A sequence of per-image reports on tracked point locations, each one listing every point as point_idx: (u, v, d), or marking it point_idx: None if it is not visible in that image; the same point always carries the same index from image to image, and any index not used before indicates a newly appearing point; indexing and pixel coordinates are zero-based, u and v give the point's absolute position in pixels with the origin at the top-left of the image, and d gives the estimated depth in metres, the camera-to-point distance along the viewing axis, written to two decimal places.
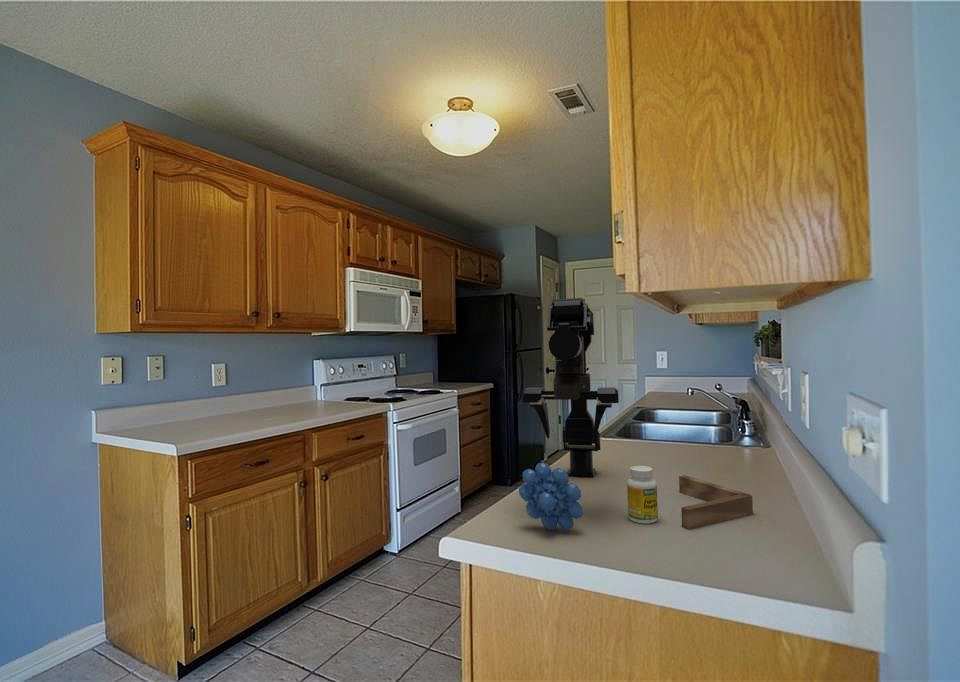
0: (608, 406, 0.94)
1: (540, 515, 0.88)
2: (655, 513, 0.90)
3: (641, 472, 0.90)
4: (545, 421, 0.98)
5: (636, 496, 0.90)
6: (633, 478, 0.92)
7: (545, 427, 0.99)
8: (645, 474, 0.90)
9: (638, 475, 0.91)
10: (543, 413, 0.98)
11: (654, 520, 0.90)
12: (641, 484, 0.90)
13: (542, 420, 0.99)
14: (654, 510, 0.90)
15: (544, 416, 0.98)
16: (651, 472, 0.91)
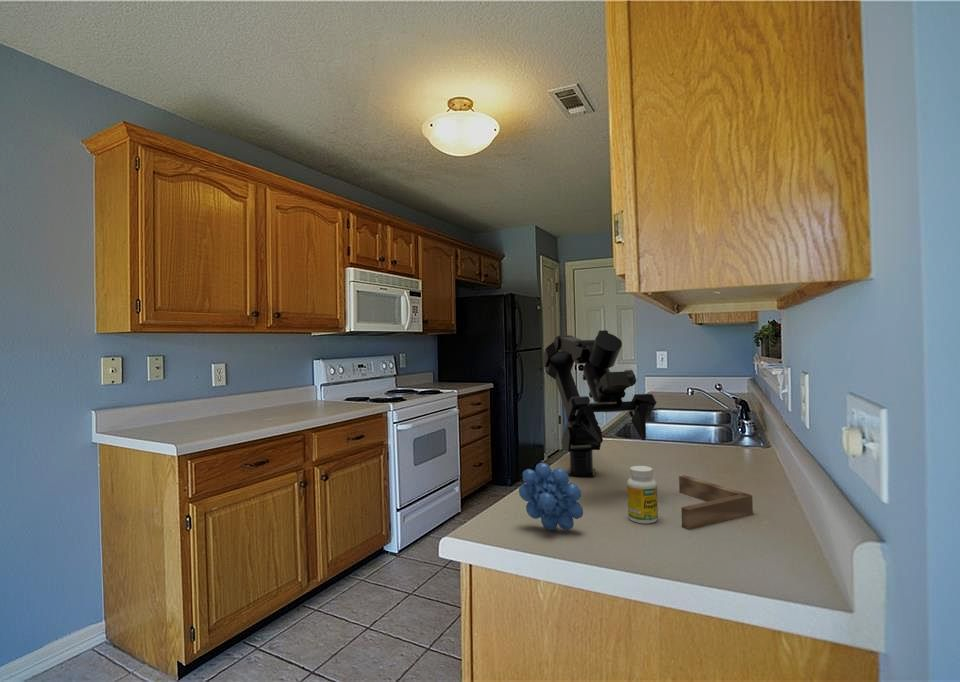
0: (649, 404, 1.04)
1: (540, 515, 0.88)
2: (655, 513, 0.90)
3: (641, 472, 0.90)
4: (596, 424, 1.01)
5: (636, 496, 0.90)
6: (633, 478, 0.92)
7: (597, 429, 1.00)
8: (645, 474, 0.90)
9: (638, 475, 0.91)
10: (593, 417, 1.02)
11: (654, 520, 0.90)
12: (641, 484, 0.90)
13: (593, 423, 1.01)
14: (654, 510, 0.90)
15: (594, 419, 1.01)
16: (651, 472, 0.91)
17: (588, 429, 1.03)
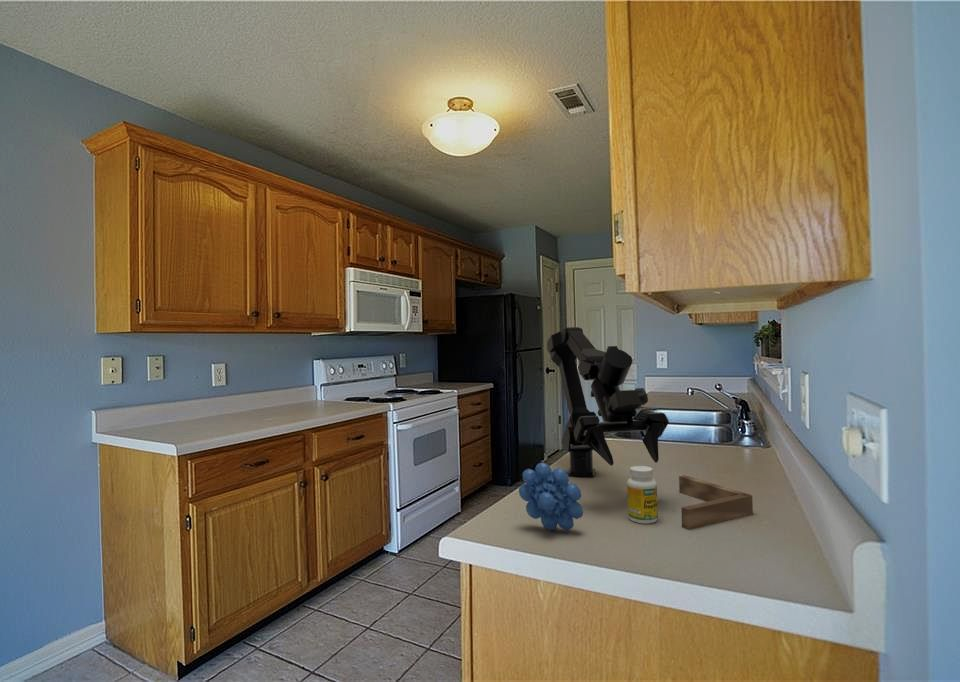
0: (662, 424, 0.99)
1: (540, 515, 0.88)
2: (655, 513, 0.90)
3: (641, 472, 0.90)
4: (606, 445, 0.96)
5: (636, 496, 0.90)
6: (633, 478, 0.92)
7: (607, 451, 0.95)
8: (645, 474, 0.90)
9: (638, 475, 0.91)
10: (603, 438, 0.97)
11: (654, 520, 0.90)
12: (641, 484, 0.90)
13: (603, 445, 0.96)
14: (654, 510, 0.90)
15: (604, 440, 0.96)
16: (651, 472, 0.91)
17: (598, 450, 0.98)
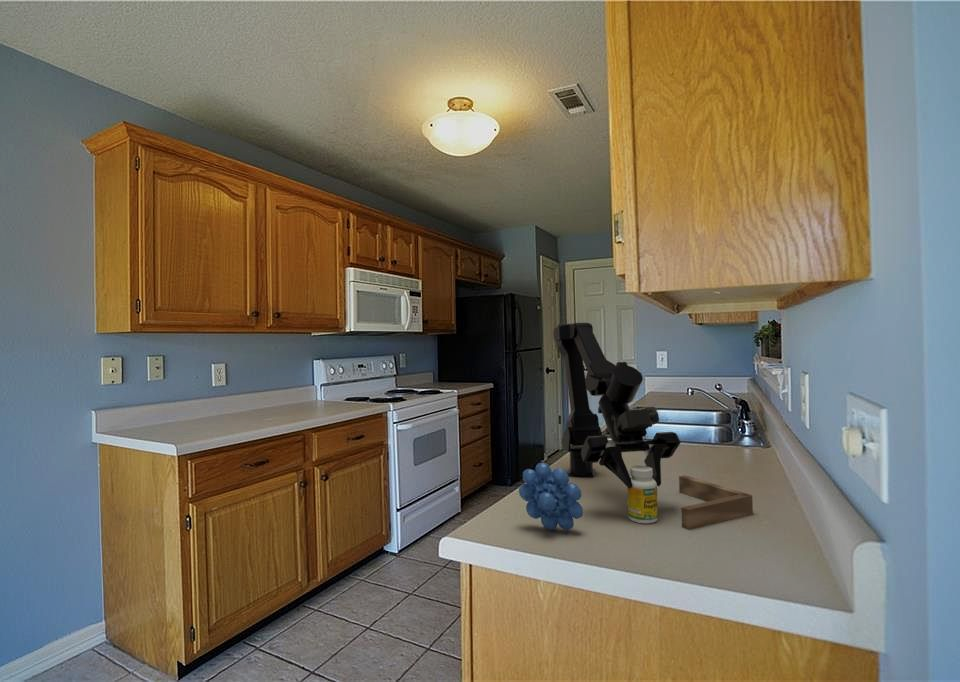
0: (665, 445, 0.94)
1: (540, 515, 0.88)
2: (655, 513, 0.90)
3: (641, 472, 0.90)
4: (624, 467, 0.92)
5: (636, 496, 0.90)
6: (633, 478, 0.92)
7: (626, 473, 0.91)
8: (645, 474, 0.90)
9: (638, 475, 0.91)
10: (621, 459, 0.93)
11: (654, 520, 0.90)
12: (641, 484, 0.90)
13: (621, 466, 0.92)
14: (654, 510, 0.90)
15: (622, 462, 0.93)
16: (651, 472, 0.91)
17: (615, 472, 0.94)
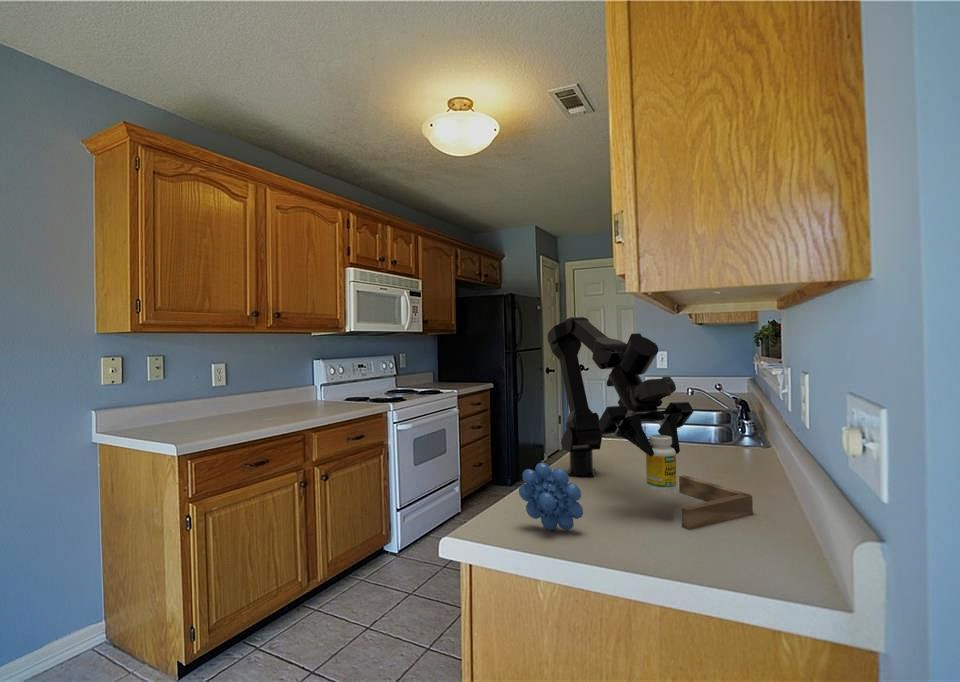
0: (680, 414, 0.96)
1: (540, 515, 0.88)
2: (675, 480, 0.91)
3: (662, 440, 0.91)
4: (645, 436, 0.93)
5: (657, 464, 0.91)
6: (653, 446, 0.93)
7: (647, 442, 0.92)
8: (666, 442, 0.91)
9: (659, 443, 0.91)
10: (640, 428, 0.93)
11: (674, 487, 0.91)
12: (663, 452, 0.91)
13: (642, 435, 0.93)
14: (674, 477, 0.91)
15: (642, 431, 0.93)
16: (671, 440, 0.92)
17: (634, 441, 0.94)
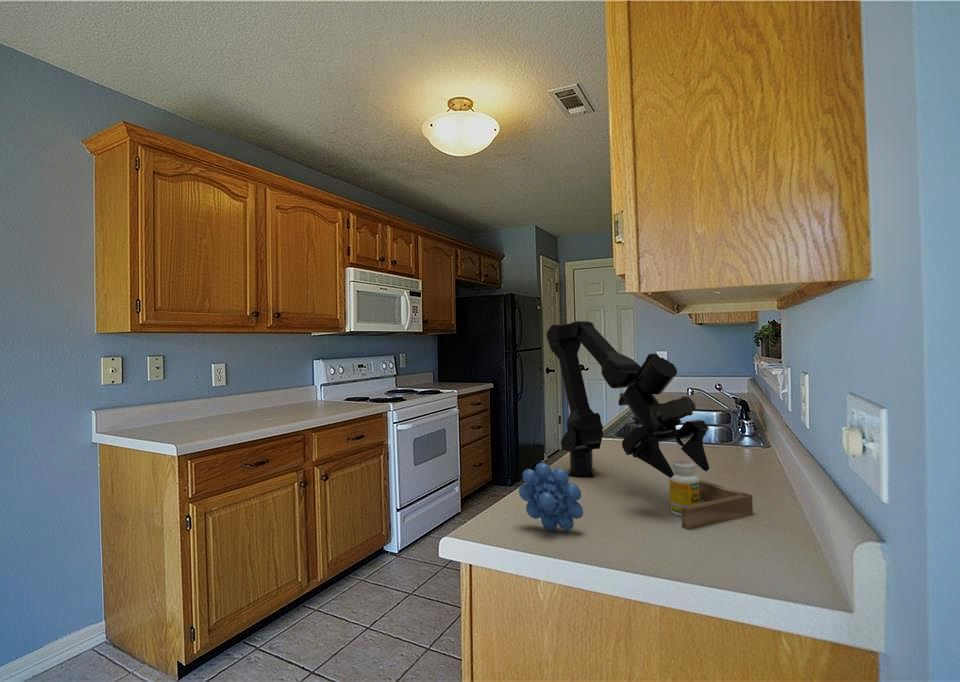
0: (705, 431, 0.99)
1: (540, 515, 0.88)
2: None
3: (687, 467, 0.93)
4: (663, 457, 0.93)
5: (684, 491, 0.92)
6: (678, 474, 0.94)
7: (666, 463, 0.92)
8: (691, 469, 0.93)
9: (685, 470, 0.93)
10: (658, 449, 0.94)
11: None
12: (689, 479, 0.92)
13: (661, 456, 0.93)
14: None
15: (660, 452, 0.93)
16: (694, 467, 0.94)
17: (652, 462, 0.94)
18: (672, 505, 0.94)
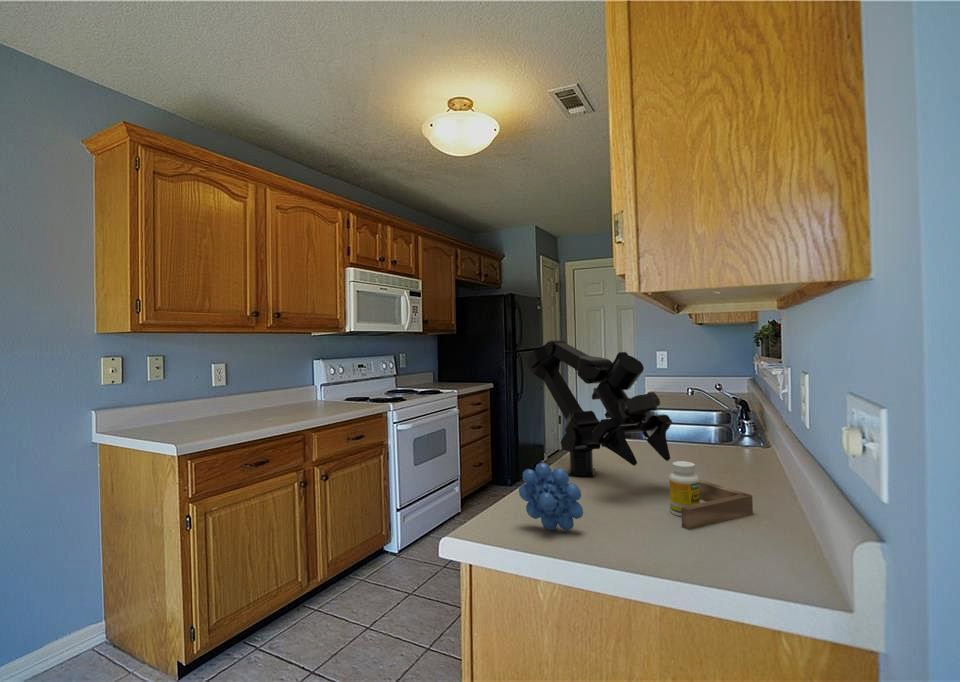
0: (668, 425, 1.08)
1: (540, 515, 0.88)
2: None
3: (687, 467, 0.93)
4: (628, 447, 1.01)
5: (684, 491, 0.92)
6: (678, 474, 0.94)
7: (630, 452, 1.01)
8: (691, 469, 0.93)
9: (685, 470, 0.93)
10: (624, 439, 1.02)
11: None
12: (689, 479, 0.92)
13: (626, 446, 1.01)
14: None
15: (626, 442, 1.02)
16: (694, 467, 0.94)
17: (618, 451, 1.03)
18: (672, 505, 0.94)
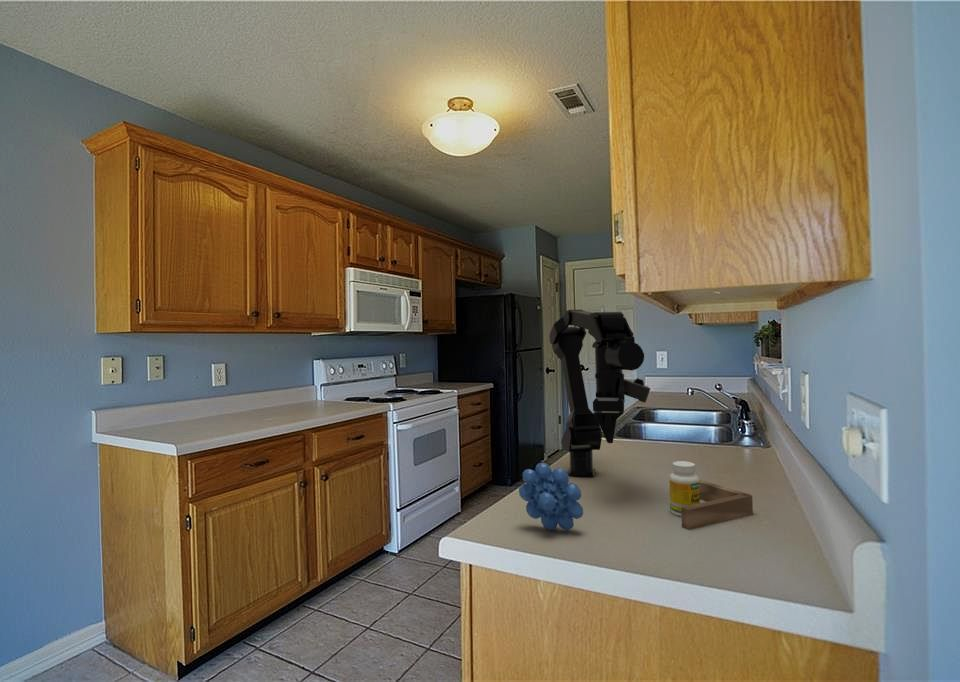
0: None
1: (540, 515, 0.88)
2: None
3: (687, 467, 0.93)
4: None
5: (684, 491, 0.92)
6: (678, 474, 0.94)
7: (614, 432, 1.03)
8: (691, 469, 0.93)
9: (685, 470, 0.93)
10: None
11: None
12: (689, 479, 0.92)
13: None
14: None
15: None
16: (694, 467, 0.94)
17: (603, 425, 1.03)
18: (672, 505, 0.94)
